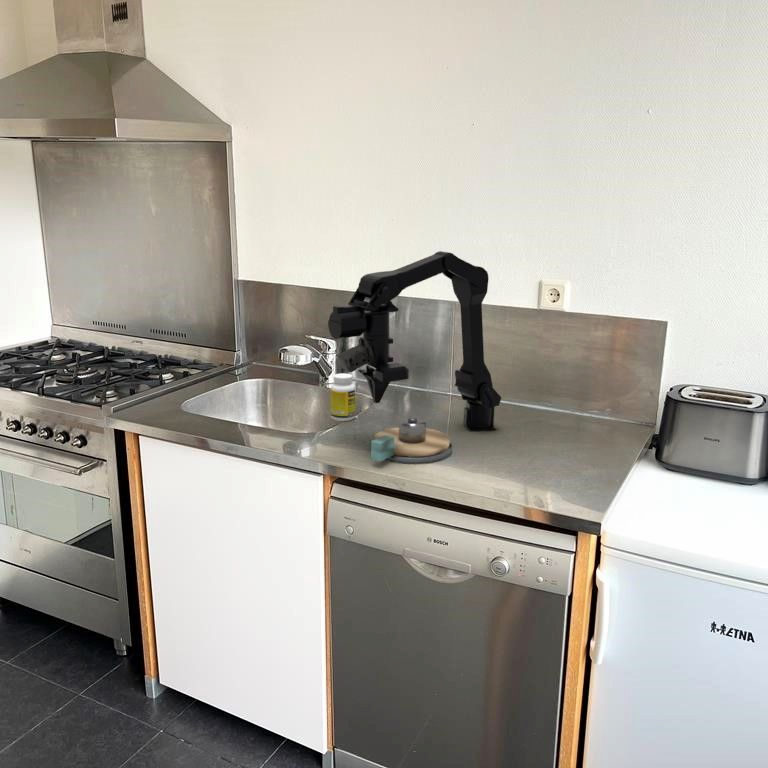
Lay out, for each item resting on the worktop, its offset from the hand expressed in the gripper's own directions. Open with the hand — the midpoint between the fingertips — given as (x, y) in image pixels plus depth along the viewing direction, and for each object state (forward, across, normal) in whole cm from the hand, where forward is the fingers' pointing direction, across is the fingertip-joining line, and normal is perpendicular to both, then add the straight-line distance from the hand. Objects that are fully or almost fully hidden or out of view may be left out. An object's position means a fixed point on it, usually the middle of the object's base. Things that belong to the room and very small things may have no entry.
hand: (376, 402), depth 169 cm
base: (+11, +4, +6) cm, 13 cm away
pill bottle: (+11, -23, +2) cm, 26 cm away
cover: (+8, +4, +6) cm, 11 cm away
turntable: (+9, +5, +4) cm, 12 cm away
